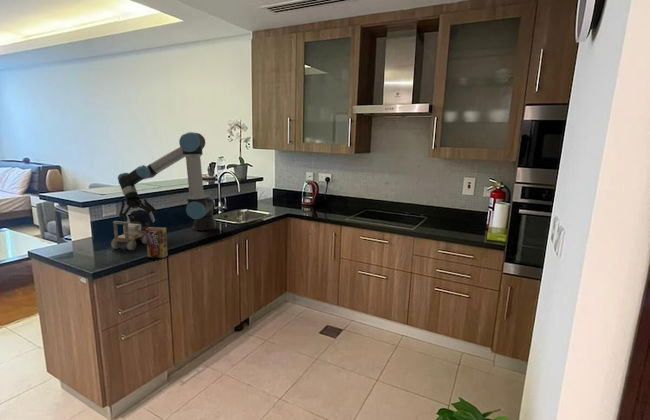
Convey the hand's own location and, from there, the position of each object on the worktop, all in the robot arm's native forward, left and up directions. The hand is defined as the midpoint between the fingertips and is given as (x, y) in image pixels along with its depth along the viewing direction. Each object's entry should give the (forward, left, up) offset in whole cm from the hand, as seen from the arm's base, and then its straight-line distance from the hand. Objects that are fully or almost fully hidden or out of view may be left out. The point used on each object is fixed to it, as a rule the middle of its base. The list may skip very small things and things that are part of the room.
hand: (142, 223), depth 206 cm
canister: (+2, -1, -10) cm, 11 cm away
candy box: (-27, +25, -10) cm, 38 cm away
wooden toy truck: (-3, +13, -10) cm, 17 cm away
